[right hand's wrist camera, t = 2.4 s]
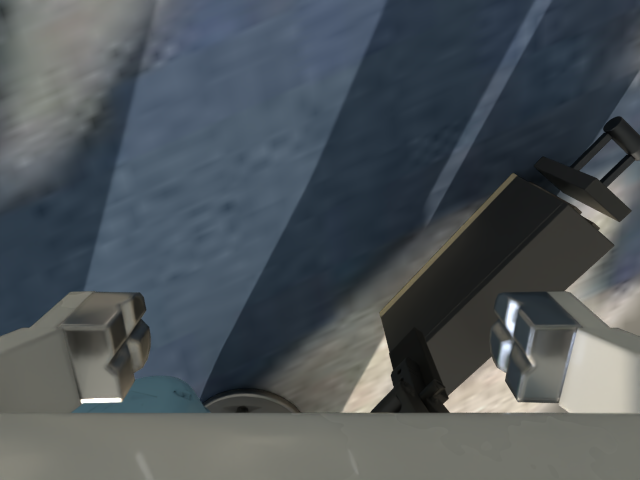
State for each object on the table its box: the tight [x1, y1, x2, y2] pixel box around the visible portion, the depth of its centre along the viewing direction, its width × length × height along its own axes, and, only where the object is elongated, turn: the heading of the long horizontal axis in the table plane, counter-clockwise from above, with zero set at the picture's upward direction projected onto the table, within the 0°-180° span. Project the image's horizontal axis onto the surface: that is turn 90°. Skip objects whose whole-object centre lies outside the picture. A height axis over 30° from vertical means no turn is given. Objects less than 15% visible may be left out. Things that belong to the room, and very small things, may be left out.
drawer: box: [529, 116, 640, 230], centre depth 40 cm, size 24×4×9 cm, turn 142°
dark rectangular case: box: [380, 173, 614, 395], centre depth 42 cm, size 20×6×10 cm, turn 142°
